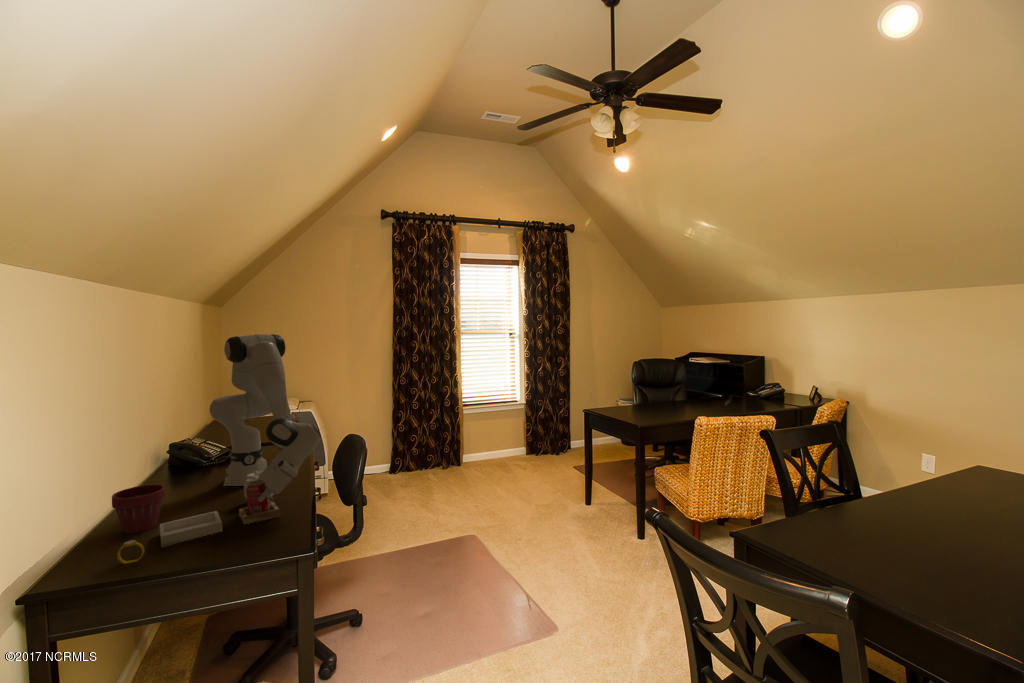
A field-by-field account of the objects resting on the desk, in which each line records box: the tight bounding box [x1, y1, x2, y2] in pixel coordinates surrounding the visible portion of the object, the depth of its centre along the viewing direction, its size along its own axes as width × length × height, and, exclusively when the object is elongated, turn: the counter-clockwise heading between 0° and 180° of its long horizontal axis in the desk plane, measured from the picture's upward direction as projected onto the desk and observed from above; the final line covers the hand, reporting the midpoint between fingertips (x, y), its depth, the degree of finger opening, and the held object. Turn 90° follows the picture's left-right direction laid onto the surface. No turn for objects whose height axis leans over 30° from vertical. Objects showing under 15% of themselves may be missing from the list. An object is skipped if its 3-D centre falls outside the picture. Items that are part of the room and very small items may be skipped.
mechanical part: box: [243, 471, 275, 500], centre depth 181 cm, size 11×12×12 cm
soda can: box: [246, 480, 271, 516], centre depth 165 cm, size 7×7×12 cm
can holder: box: [238, 500, 281, 526], centre depth 165 cm, size 11×11×2 cm
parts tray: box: [159, 510, 223, 549], centre depth 153 cm, size 13×16×4 cm
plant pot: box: [111, 483, 166, 534], centre depth 159 cm, size 14×14×13 cm
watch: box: [116, 539, 145, 565], centre depth 134 cm, size 6×3×6 cm, turn 116°
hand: (256, 497), depth 165 cm, fingers closed on soda can, 6 cm apart
